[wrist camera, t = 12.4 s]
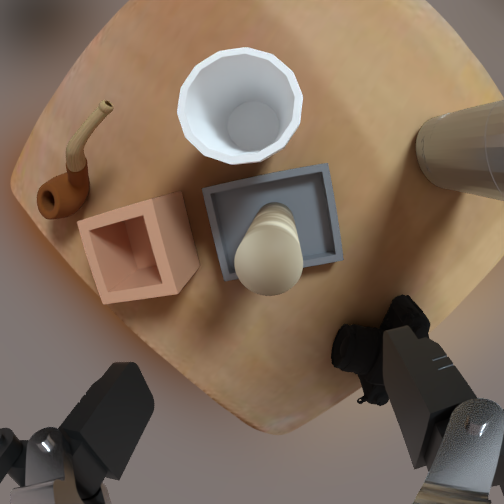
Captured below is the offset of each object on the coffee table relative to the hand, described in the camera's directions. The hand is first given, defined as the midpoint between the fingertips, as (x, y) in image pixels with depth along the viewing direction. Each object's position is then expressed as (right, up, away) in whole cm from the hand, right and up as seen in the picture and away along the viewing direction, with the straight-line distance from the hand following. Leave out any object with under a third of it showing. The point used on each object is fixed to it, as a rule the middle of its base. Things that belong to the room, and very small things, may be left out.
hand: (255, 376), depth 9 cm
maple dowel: (+3, +7, +26) cm, 27 cm away
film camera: (+16, -8, +30) cm, 35 cm away
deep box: (-12, +6, +29) cm, 32 cm away
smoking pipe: (-21, +16, +27) cm, 37 cm away
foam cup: (0, +18, +24) cm, 30 cm away
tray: (+3, +7, +27) cm, 28 cm away
